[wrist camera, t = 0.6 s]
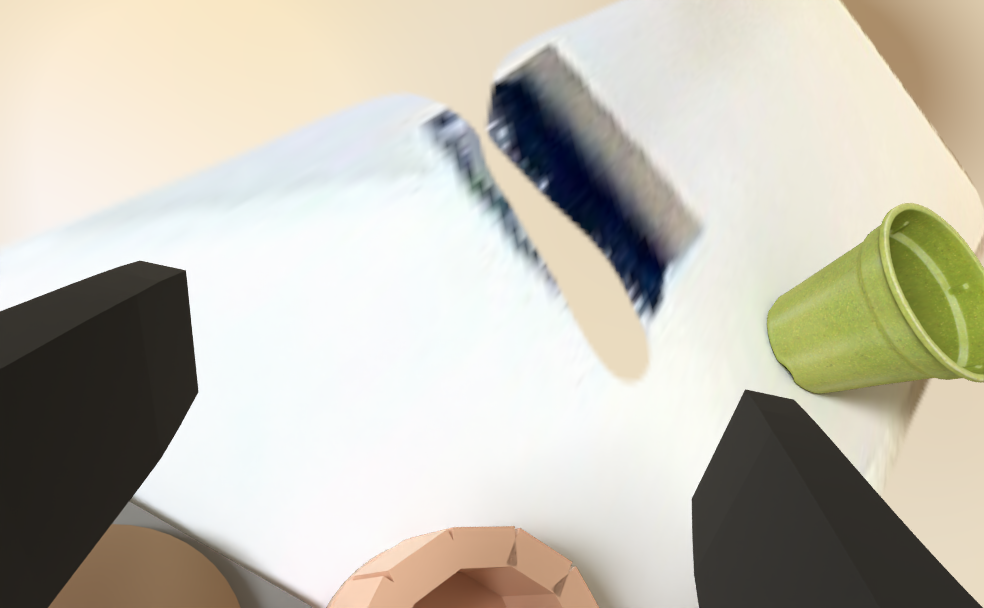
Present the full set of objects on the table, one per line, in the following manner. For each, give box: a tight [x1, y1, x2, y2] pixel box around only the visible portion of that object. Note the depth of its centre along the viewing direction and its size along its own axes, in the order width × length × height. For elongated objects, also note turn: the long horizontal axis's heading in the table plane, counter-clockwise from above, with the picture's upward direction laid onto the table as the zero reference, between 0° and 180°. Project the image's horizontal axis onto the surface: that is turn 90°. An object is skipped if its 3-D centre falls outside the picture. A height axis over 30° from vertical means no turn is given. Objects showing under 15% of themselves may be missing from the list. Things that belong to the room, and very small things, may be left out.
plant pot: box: [767, 203, 984, 394], centre depth 36 cm, size 9×9×9 cm
